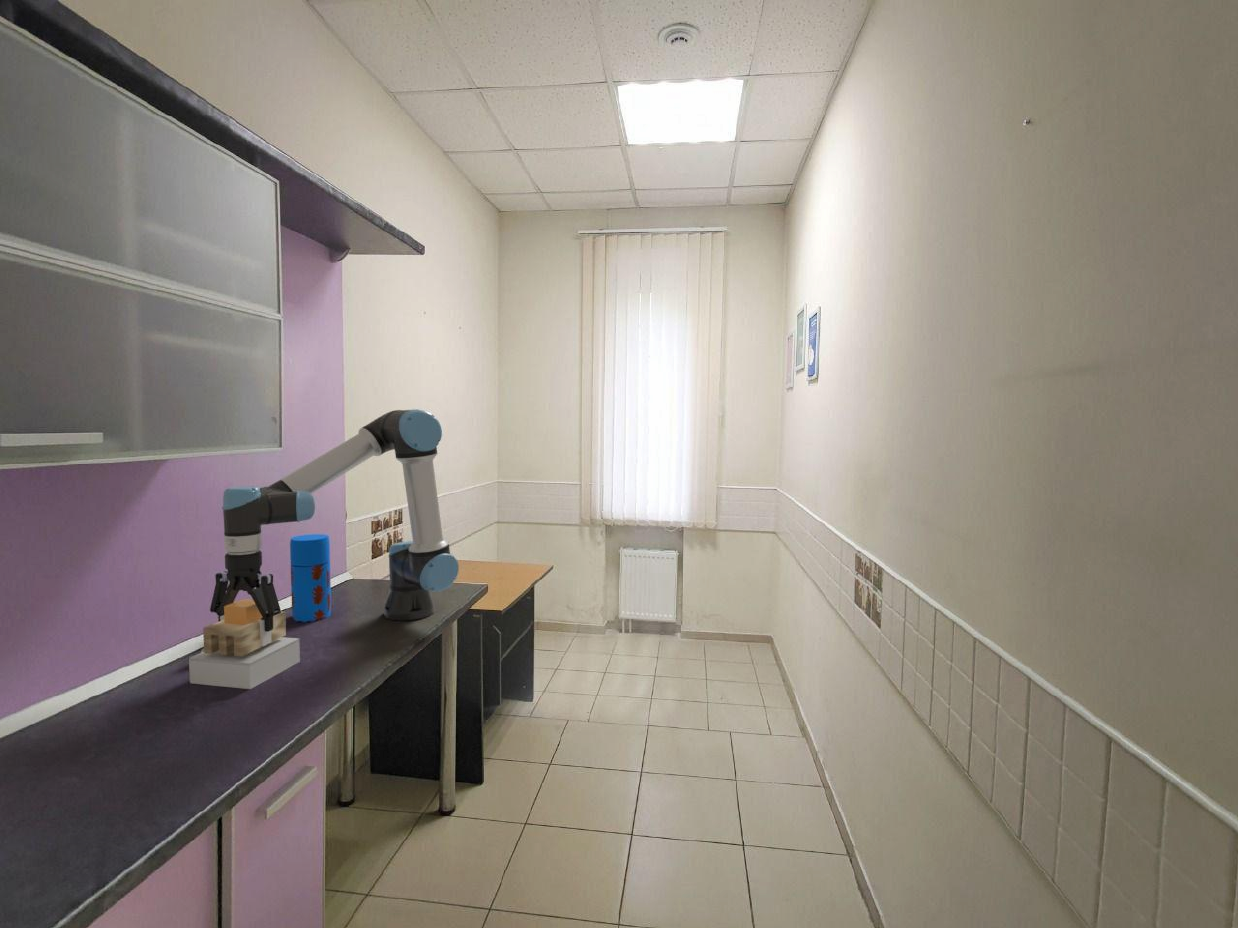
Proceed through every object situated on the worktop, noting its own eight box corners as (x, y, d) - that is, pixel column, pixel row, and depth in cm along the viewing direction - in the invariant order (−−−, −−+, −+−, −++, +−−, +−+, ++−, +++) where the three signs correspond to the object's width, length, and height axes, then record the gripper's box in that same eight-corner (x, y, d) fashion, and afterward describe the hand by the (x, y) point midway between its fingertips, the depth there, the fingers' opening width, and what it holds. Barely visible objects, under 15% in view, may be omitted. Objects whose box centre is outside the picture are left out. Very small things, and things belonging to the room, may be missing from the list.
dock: (244, 656, 154) (244, 634, 153) (299, 661, 151) (299, 638, 150) (190, 683, 138) (188, 657, 138) (250, 689, 135) (249, 663, 135)
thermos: (288, 615, 187) (286, 536, 185) (325, 608, 194) (323, 532, 192) (297, 624, 178) (294, 542, 177) (335, 617, 185) (333, 537, 184)
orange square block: (244, 614, 147) (244, 598, 147) (266, 616, 146) (265, 600, 146) (224, 622, 141) (224, 606, 141) (246, 624, 140) (246, 607, 140)
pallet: (251, 632, 152) (250, 609, 151) (286, 634, 150) (285, 611, 150) (204, 653, 138) (203, 627, 138) (241, 656, 136) (240, 630, 136)
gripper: (189, 552, 141) (192, 644, 142) (273, 557, 137) (276, 651, 138) (215, 546, 148) (218, 633, 150) (296, 550, 144) (298, 640, 146)
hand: (246, 642), depth 144 cm, fingers closed on pallet, 10 cm apart
